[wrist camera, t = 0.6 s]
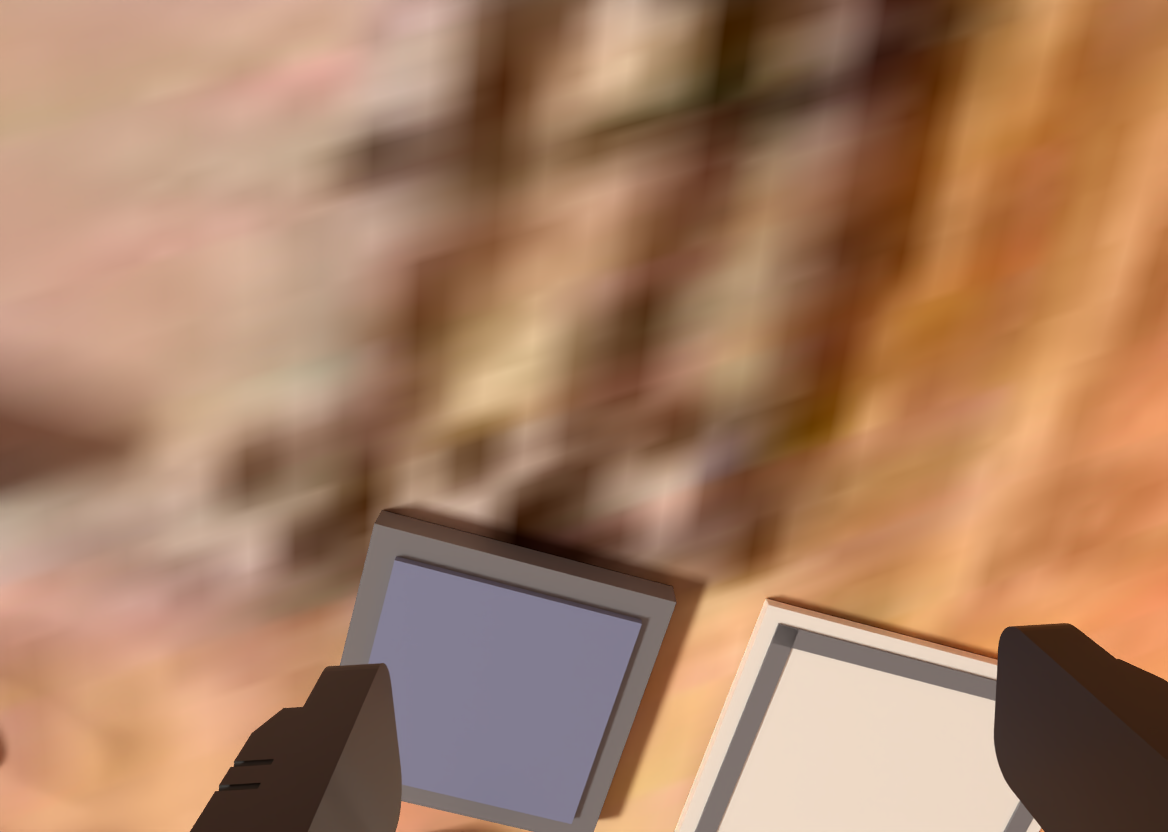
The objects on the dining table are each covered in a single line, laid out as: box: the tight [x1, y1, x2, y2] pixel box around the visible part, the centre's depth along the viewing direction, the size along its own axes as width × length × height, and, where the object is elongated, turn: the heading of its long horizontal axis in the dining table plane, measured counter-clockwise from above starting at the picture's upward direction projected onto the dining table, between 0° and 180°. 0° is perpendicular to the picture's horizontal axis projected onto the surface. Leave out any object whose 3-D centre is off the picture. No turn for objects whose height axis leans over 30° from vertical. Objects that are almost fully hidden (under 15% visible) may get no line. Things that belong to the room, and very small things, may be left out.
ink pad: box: [340, 510, 676, 832], centre depth 32 cm, size 11×11×2 cm
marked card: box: [674, 599, 1041, 832], centre depth 34 cm, size 14×14×1 cm
